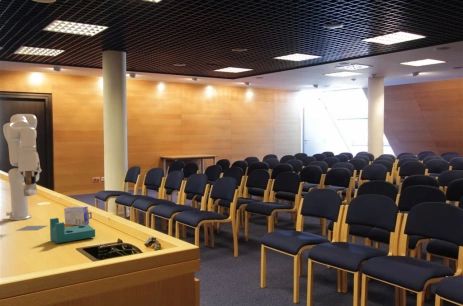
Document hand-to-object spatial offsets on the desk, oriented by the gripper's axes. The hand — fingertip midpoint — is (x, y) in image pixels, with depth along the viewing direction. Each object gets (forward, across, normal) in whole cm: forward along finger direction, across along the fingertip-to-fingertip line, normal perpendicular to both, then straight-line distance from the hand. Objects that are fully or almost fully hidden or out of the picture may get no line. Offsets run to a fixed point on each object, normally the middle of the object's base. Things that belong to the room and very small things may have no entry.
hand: (30, 183), depth 236 cm
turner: (+6, 0, 0) cm, 6 cm away
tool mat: (+25, 0, 0) cm, 25 cm away
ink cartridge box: (+20, +15, +11) cm, 27 cm away
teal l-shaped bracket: (+25, +34, -26) cm, 50 cm away
